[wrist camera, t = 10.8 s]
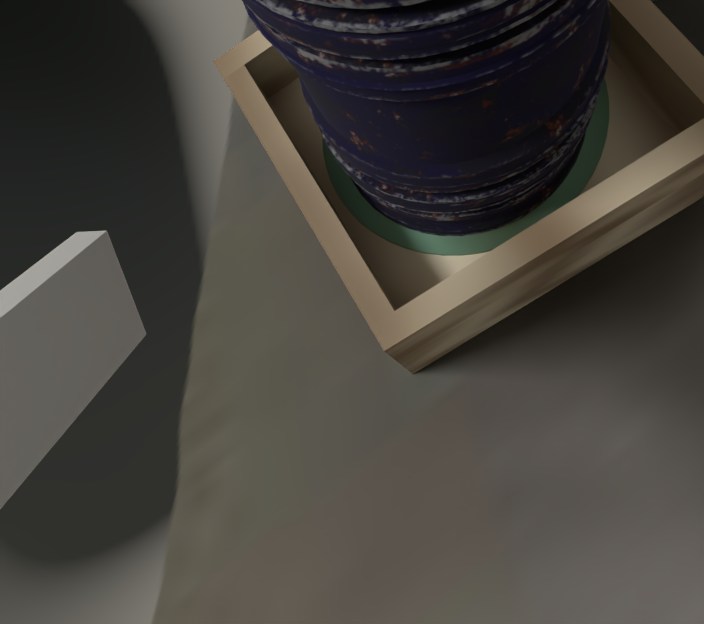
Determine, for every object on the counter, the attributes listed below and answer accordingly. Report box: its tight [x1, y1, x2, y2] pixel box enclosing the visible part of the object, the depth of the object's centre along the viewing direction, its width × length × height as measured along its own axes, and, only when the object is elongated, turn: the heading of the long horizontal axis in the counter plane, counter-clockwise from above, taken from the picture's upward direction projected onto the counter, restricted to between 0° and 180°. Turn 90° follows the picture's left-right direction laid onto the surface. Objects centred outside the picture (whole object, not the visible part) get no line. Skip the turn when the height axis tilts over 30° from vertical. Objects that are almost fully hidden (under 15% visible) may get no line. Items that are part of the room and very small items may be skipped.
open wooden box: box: [214, 0, 704, 374], centre depth 25 cm, size 14×14×6 cm
